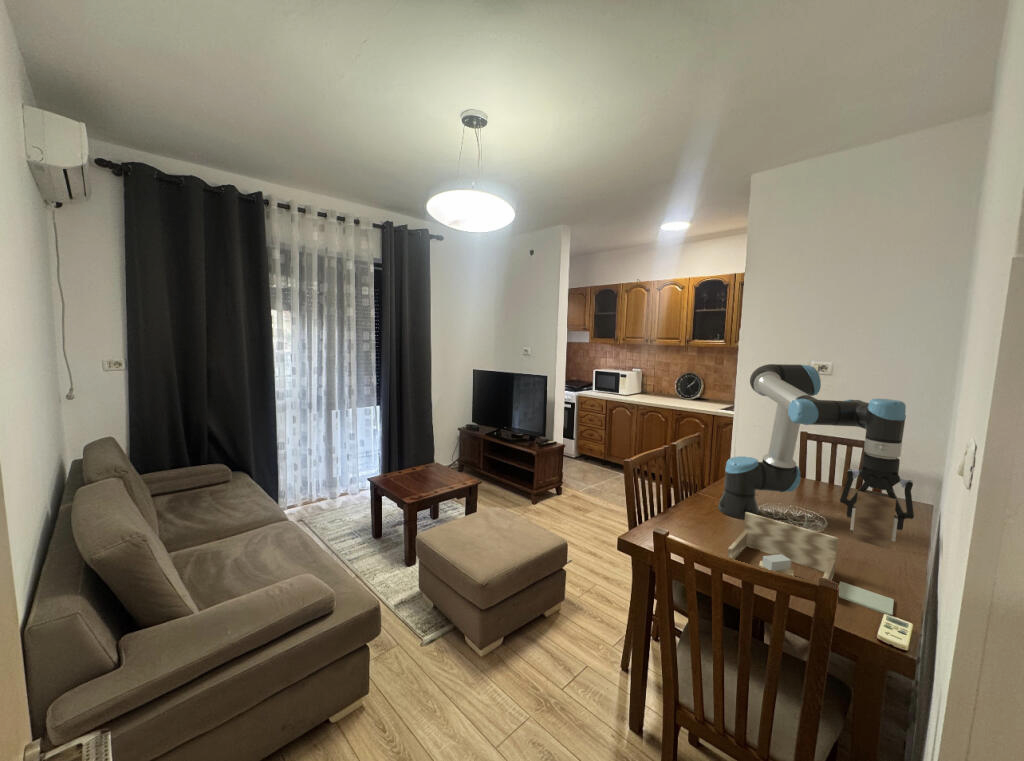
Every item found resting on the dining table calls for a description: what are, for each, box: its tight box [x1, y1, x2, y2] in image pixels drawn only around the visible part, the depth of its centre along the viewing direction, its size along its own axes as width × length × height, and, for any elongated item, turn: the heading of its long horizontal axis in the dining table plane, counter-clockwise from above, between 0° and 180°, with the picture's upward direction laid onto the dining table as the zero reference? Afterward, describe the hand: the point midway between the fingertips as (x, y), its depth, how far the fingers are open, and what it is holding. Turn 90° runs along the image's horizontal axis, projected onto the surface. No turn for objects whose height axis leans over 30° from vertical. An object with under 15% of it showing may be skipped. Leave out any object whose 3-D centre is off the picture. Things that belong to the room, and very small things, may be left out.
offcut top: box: [761, 554, 792, 571], centre depth 128 cm, size 7×4×3 cm, turn 102°
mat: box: [838, 581, 895, 616], centre depth 117 cm, size 12×9×1 cm
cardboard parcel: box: [851, 488, 898, 550], centre depth 115 cm, size 8×4×14 cm, turn 45°
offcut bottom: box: [758, 560, 795, 577], centre depth 128 cm, size 9×4×3 cm, turn 54°
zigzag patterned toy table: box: [727, 512, 839, 581], centre depth 131 cm, size 26×19×12 cm
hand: (872, 533), depth 115 cm, fingers closed on cardboard parcel, 8 cm apart
